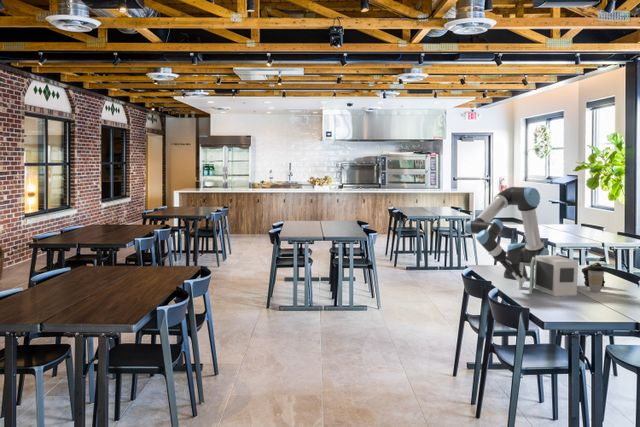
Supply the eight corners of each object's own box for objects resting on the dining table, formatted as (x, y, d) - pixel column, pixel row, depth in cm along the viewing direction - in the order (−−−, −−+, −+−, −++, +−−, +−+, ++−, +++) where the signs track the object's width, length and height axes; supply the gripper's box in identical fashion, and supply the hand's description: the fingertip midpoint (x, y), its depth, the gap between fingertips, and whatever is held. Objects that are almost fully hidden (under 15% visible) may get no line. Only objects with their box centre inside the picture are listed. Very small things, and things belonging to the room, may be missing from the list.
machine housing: (533, 287, 342) (535, 255, 340) (555, 287, 344) (556, 255, 342) (554, 296, 319) (556, 261, 318) (577, 295, 321) (579, 261, 320)
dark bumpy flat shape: (610, 284, 345) (600, 263, 345) (589, 293, 347) (580, 271, 346) (607, 283, 349) (597, 262, 348) (587, 291, 350) (577, 270, 350)
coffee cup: (596, 293, 327) (598, 268, 326) (582, 290, 335) (583, 266, 334) (607, 292, 331) (608, 267, 330) (593, 289, 339) (594, 264, 338)
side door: (521, 284, 345) (522, 256, 343) (533, 286, 342) (534, 257, 340) (518, 292, 324) (519, 261, 323) (531, 293, 321) (532, 262, 320)
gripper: (486, 255, 333) (510, 282, 336) (499, 259, 315) (525, 287, 319) (494, 246, 333) (519, 273, 336) (509, 250, 316) (534, 278, 319)
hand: (522, 280), depth 327 cm, fingers open, 5 cm apart
